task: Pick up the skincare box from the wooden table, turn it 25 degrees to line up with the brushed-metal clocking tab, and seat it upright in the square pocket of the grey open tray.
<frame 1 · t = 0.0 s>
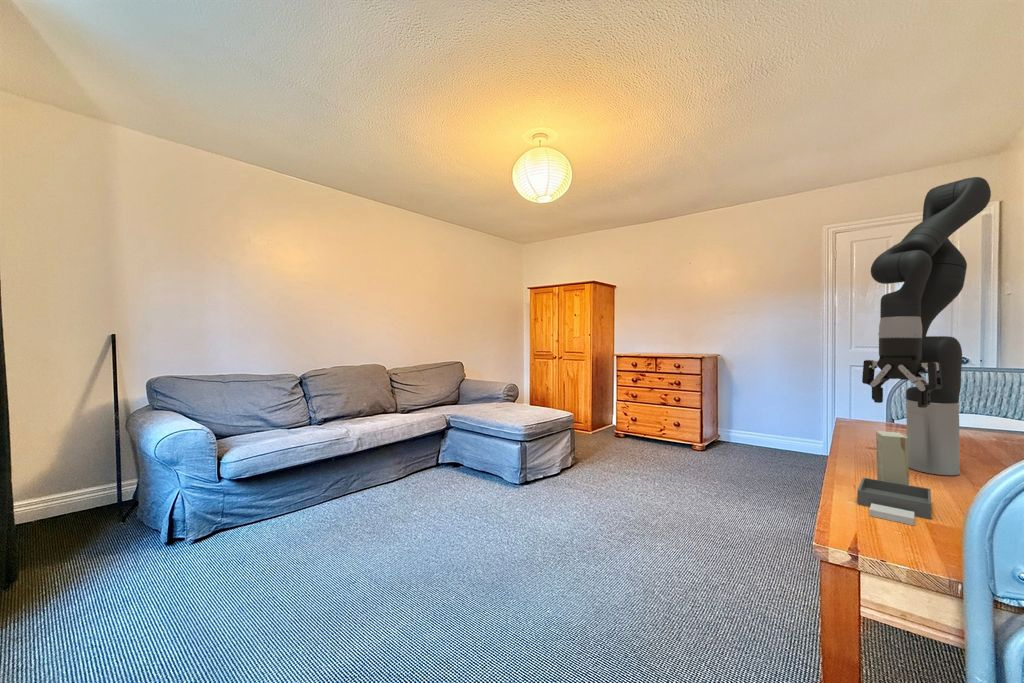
hand: (899, 404, 98), 17 cm above the table, tool pointing down, fingers open, 8 cm apart
grey open tray: (894, 503, 83), on the table
skincare box: (892, 490, 91), on the table
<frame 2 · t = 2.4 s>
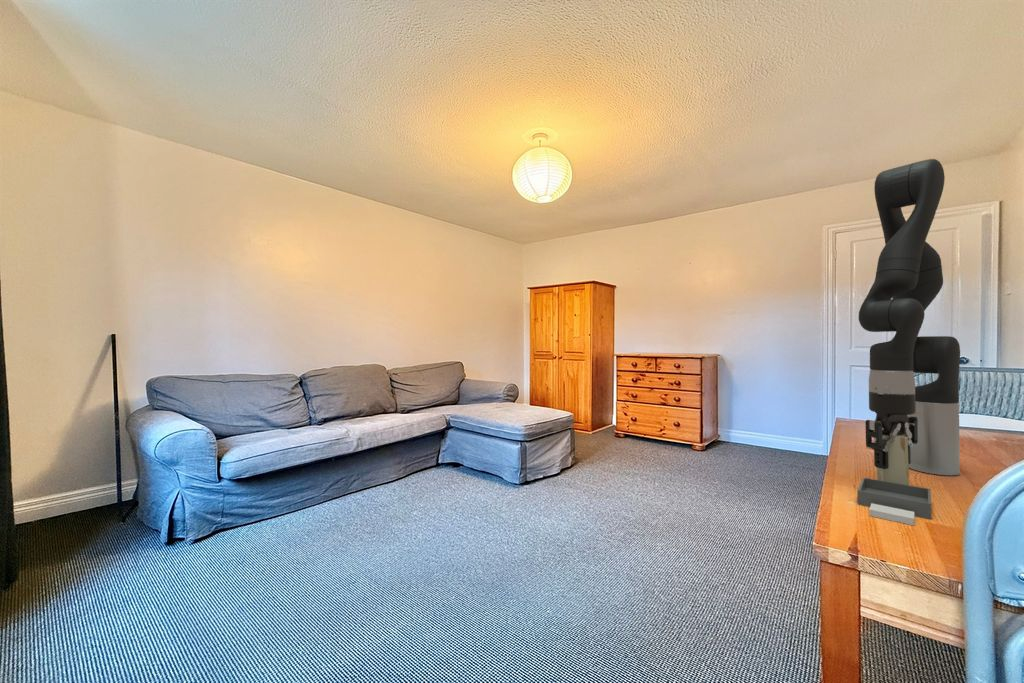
hand: (892, 465, 91), 5 cm above the table, tool pointing down, fingers closed on skincare box, 7 cm apart
skincare box: (892, 490, 91), on the table, touching gripper
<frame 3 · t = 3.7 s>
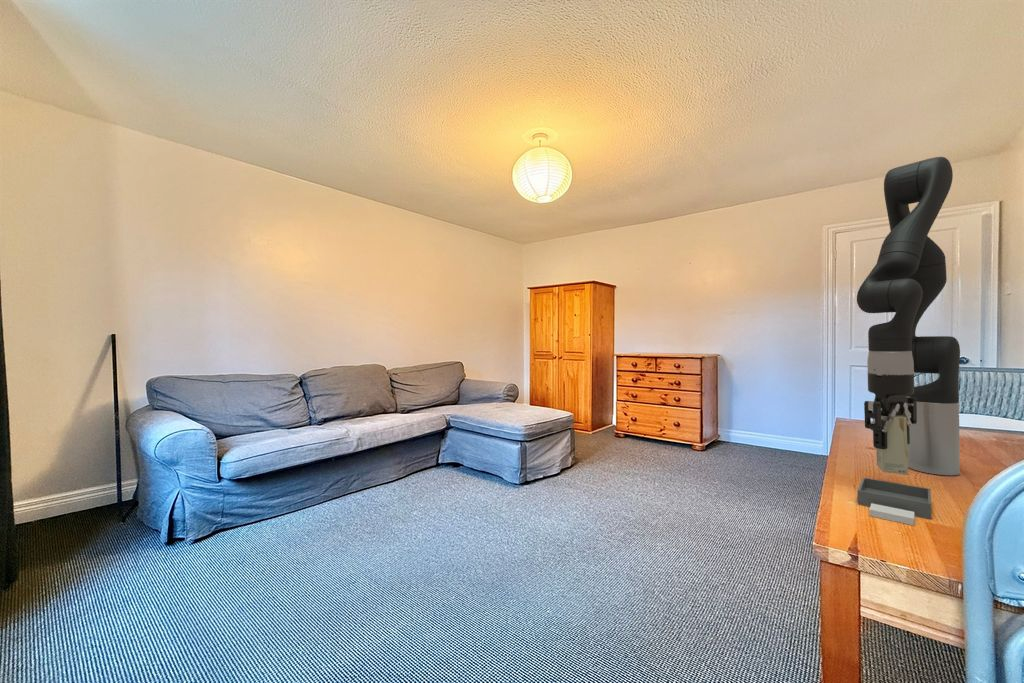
hand: (891, 446, 91), 9 cm above the table, tool pointing down, fingers closed on skincare box, 7 cm apart
skincare box: (891, 470, 91), point 4 cm above the table, touching gripper
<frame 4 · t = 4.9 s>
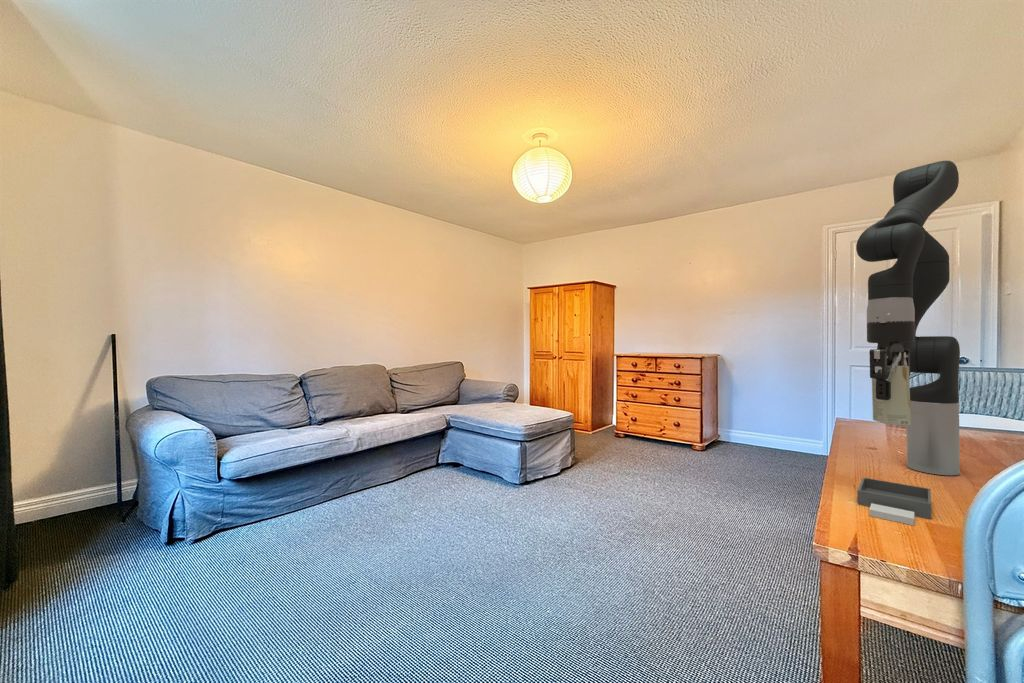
hand: (890, 398, 87), 20 cm above the table, tool pointing down, fingers closed on skincare box, 7 cm apart
skincare box: (890, 423, 88), point 15 cm above the table, touching gripper
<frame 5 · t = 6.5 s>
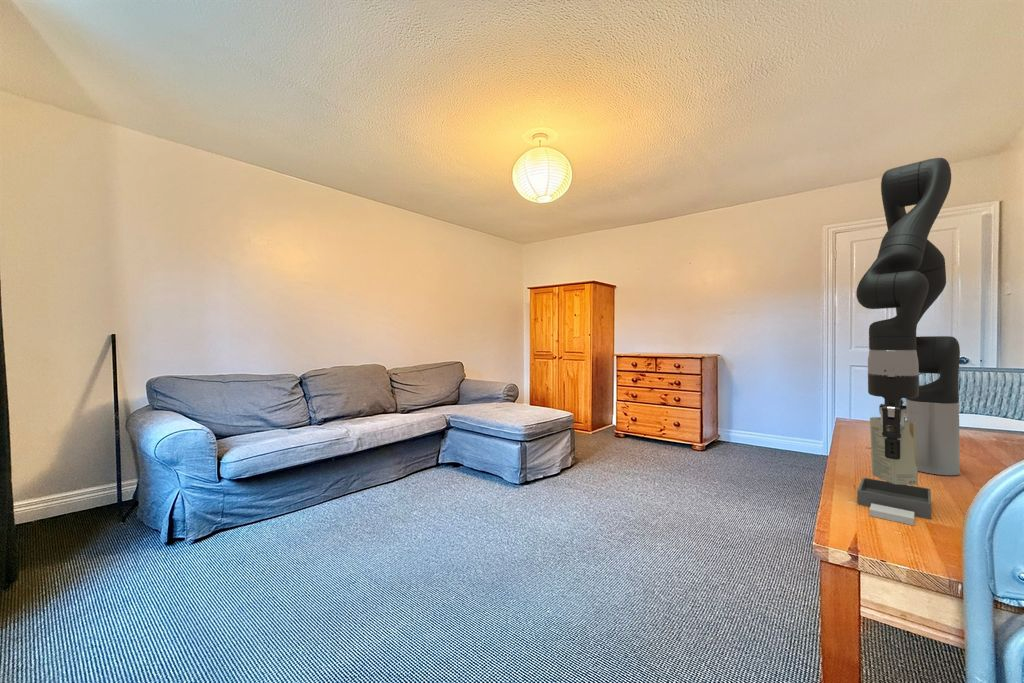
hand: (893, 454, 83), 10 cm above the table, tool pointing down, fingers closed on skincare box, 7 cm apart
skincare box: (893, 481, 83), point 4 cm above the table, touching gripper
when the fingers open (7 cm above the table, at t = 7.6 s): skincare box drops 1 cm, resting on grey open tray.
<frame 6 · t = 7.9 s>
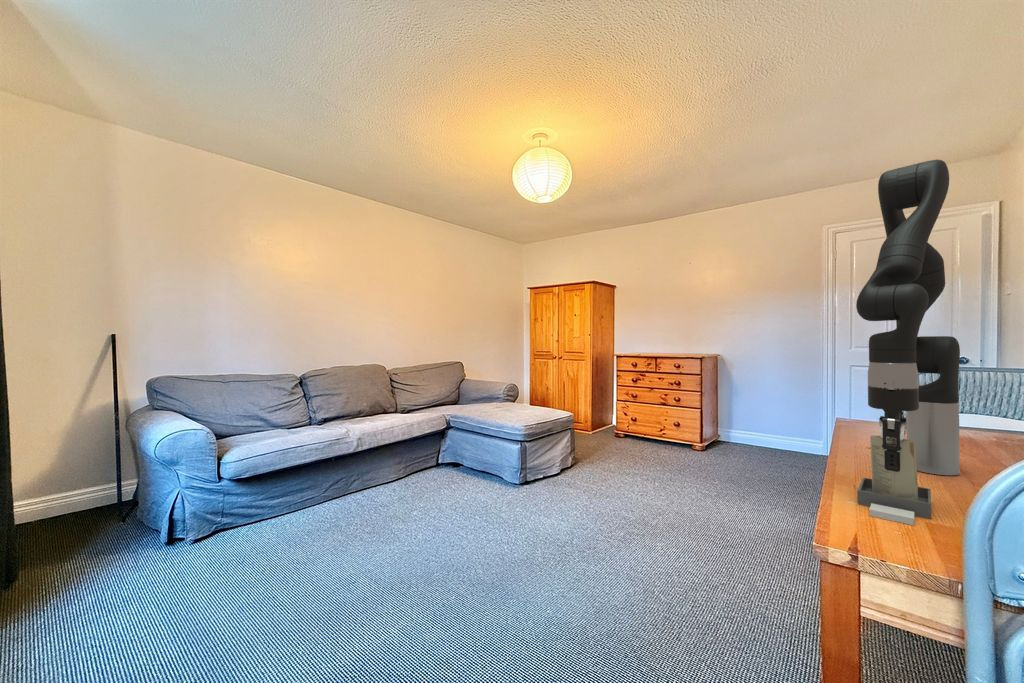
hand: (893, 465, 83), 8 cm above the table, tool pointing down, fingers open, 8 cm apart
skincare box: (893, 499, 83), point 1 cm above the table, touching gripper, grey open tray
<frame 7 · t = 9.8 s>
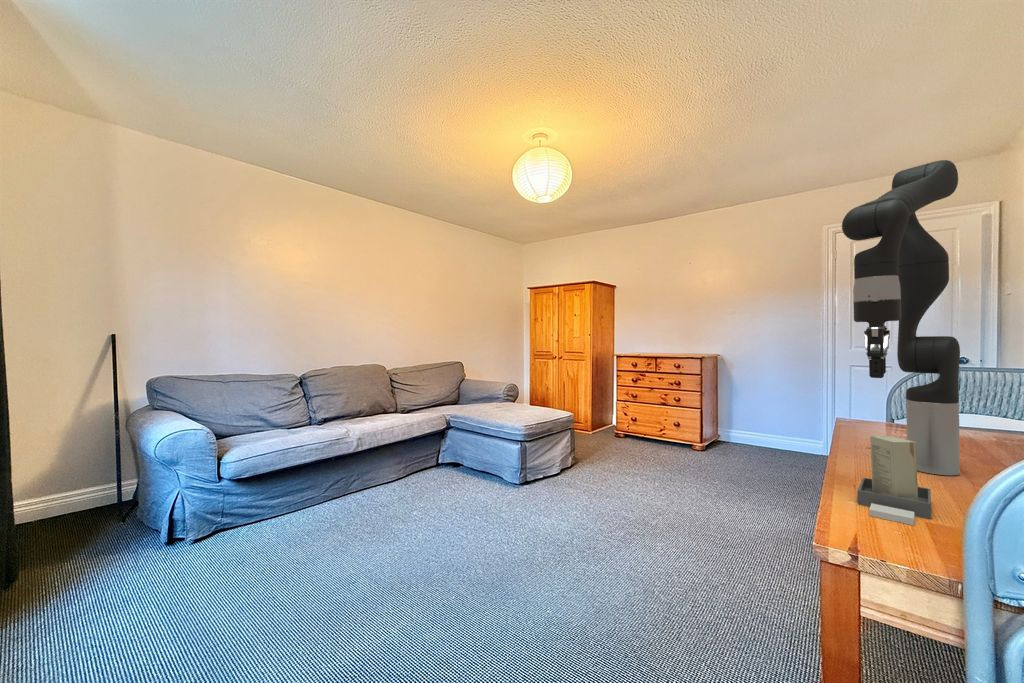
hand: (877, 375, 88), 25 cm above the table, tool pointing down, fingers open, 8 cm apart
skincare box: (893, 499, 83), point 1 cm above the table, touching grey open tray
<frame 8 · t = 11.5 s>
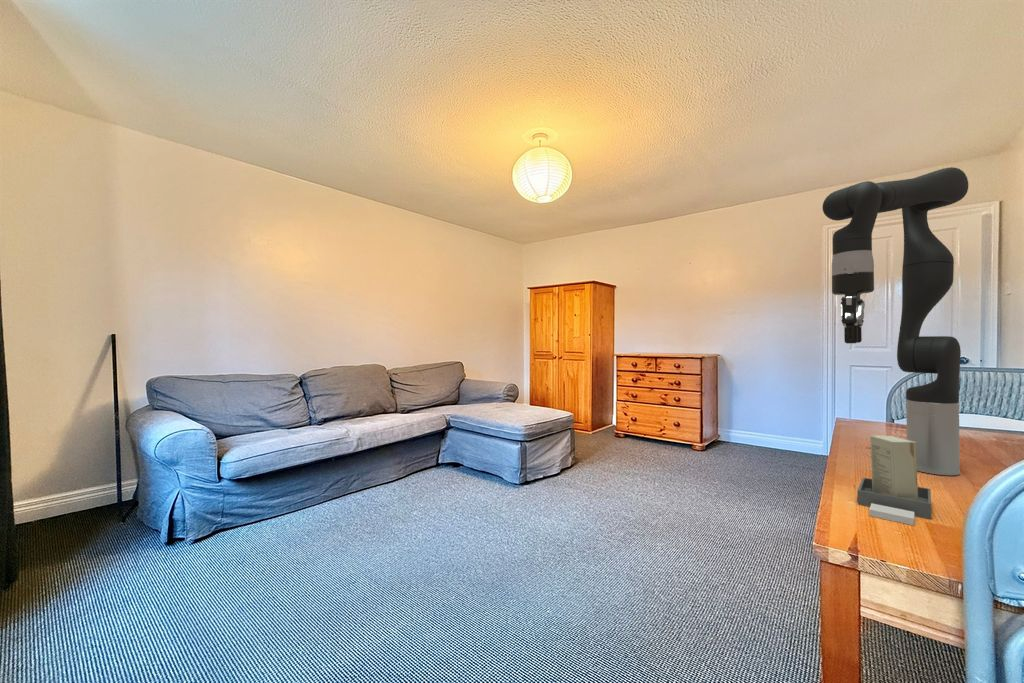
hand: (853, 343, 96), 32 cm above the table, tool pointing down, fingers open, 8 cm apart
nothing on the table moved.
at the end: skincare box 0.4 cm off-centre on the grey open tray, point 0.6 cm above the grey open tray's base; skincare box tilted 0°; the gripper is holding nothing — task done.
